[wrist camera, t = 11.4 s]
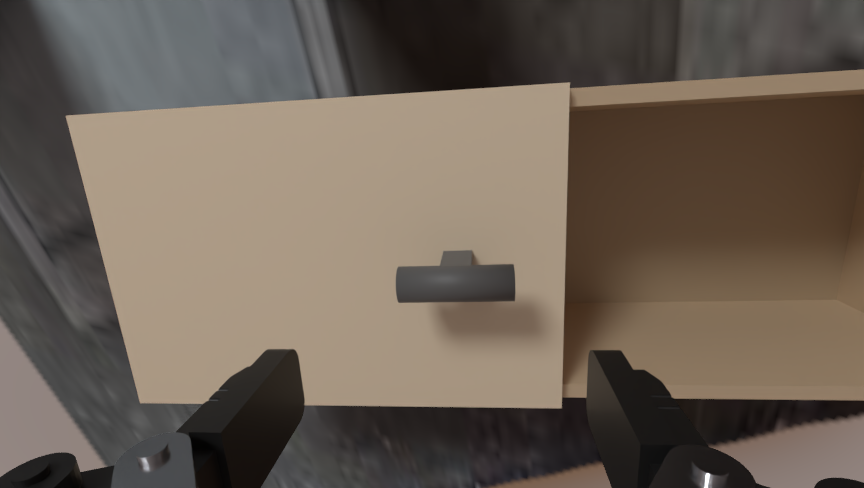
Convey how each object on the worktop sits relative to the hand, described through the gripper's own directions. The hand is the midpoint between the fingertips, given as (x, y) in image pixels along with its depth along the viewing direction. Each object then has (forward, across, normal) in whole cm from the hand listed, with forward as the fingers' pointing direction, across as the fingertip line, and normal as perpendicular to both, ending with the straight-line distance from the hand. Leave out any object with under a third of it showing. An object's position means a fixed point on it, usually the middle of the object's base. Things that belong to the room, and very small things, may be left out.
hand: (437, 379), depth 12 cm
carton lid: (+11, +7, 0) cm, 13 cm away
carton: (+23, -16, 0) cm, 28 cm away
